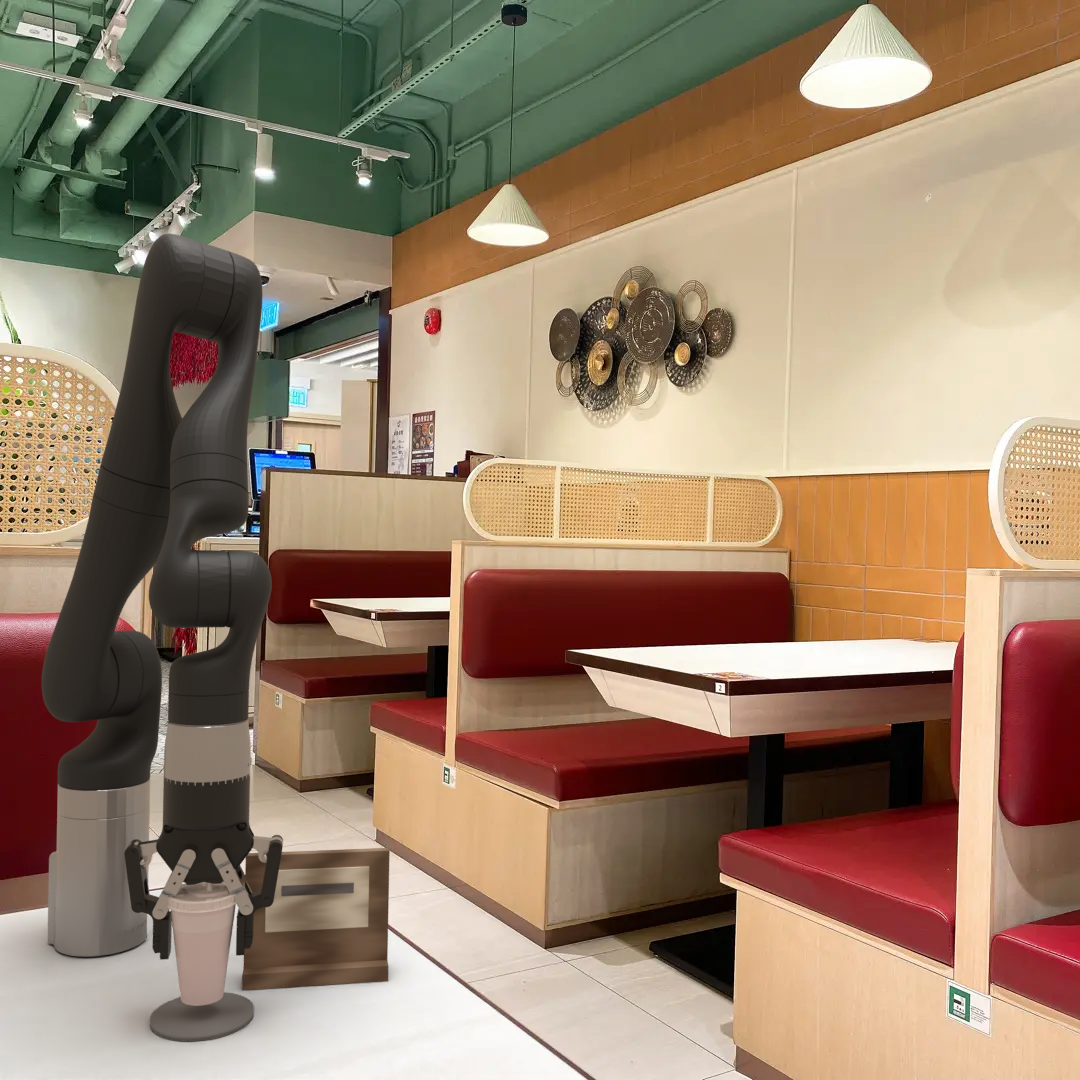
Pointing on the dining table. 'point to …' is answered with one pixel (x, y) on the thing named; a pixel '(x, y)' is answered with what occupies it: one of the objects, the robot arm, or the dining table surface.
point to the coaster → (202, 1018)
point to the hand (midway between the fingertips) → (203, 953)
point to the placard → (320, 920)
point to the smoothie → (202, 940)
